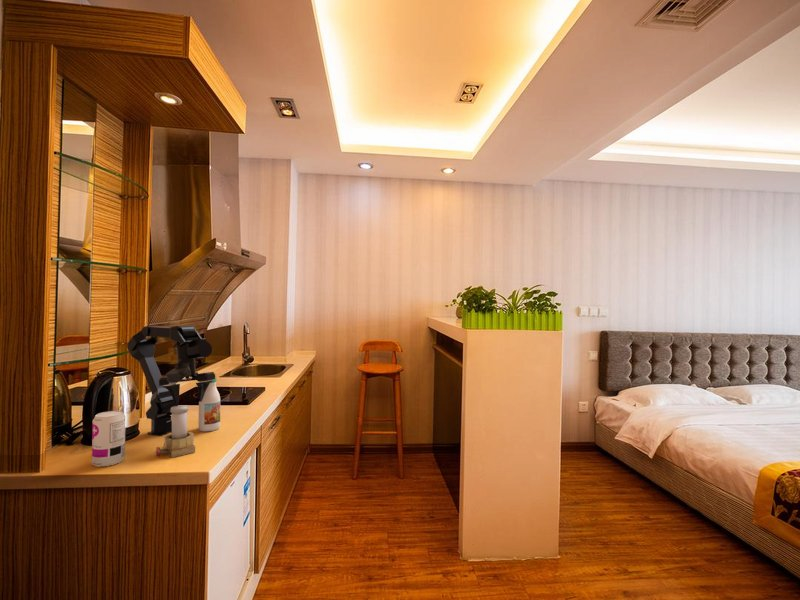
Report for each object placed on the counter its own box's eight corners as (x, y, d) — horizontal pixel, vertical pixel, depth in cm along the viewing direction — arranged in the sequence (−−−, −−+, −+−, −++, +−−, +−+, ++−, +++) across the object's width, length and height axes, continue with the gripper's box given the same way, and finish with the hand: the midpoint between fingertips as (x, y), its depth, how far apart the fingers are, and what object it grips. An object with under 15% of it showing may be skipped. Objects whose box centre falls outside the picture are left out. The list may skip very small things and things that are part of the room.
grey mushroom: (166, 447, 131) (167, 408, 131) (177, 441, 136) (177, 404, 136) (181, 447, 130) (181, 409, 130) (191, 442, 135) (191, 405, 135)
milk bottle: (195, 432, 151) (196, 380, 151) (201, 426, 159) (202, 376, 159) (217, 431, 153) (218, 379, 153) (222, 425, 160) (222, 375, 160)
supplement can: (91, 470, 117) (92, 419, 117) (92, 461, 124) (93, 412, 124) (125, 463, 122) (125, 414, 122) (124, 455, 128) (124, 408, 128)
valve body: (151, 449, 135) (151, 433, 135) (185, 442, 142) (185, 427, 142) (160, 461, 125) (160, 444, 125) (197, 452, 132) (197, 436, 132)
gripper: (146, 363, 139) (148, 409, 137) (196, 358, 137) (198, 404, 135) (168, 361, 150) (170, 403, 148) (214, 356, 148) (217, 399, 146)
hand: (188, 402), depth 144 cm, fingers open, 9 cm apart
